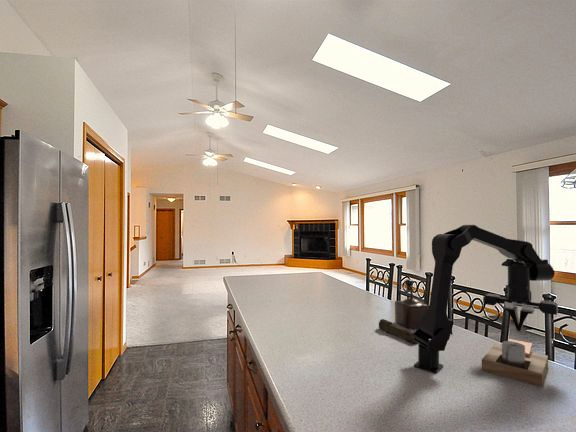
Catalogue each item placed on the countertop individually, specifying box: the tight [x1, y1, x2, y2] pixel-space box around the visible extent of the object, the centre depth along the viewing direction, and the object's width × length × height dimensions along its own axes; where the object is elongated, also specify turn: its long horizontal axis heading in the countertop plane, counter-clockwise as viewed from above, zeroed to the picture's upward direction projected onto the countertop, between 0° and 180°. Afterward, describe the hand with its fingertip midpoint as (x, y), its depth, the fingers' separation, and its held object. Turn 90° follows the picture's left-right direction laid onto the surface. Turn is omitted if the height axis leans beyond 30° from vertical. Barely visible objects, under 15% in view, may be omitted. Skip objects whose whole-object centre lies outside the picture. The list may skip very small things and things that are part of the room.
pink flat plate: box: [508, 338, 533, 357], centre depth 102 cm, size 7×6×1 cm
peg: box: [501, 340, 525, 369], centre depth 94 cm, size 6×6×8 cm
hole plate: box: [481, 343, 549, 387], centre depth 97 cm, size 18×14×3 cm
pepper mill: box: [394, 278, 429, 330], centre depth 141 cm, size 16×11×18 cm
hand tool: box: [378, 318, 418, 345], centre depth 124 cm, size 19×4×5 cm, turn 25°
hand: (519, 330), depth 102 cm, fingers closed
